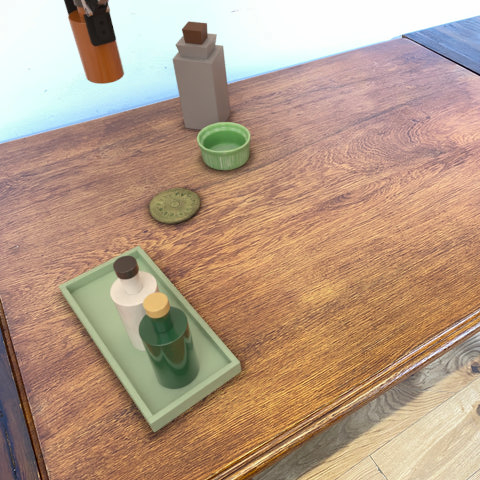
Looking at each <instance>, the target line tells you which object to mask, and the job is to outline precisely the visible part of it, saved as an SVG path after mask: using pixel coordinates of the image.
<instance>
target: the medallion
mask: <svg viewBox="0 0 480 480" xmlns="http://www.w3.org/2000/svg"><path fill="white" fill-rule="evenodd" d="M201 203H202V202H201V197H200V196H199V194H198V193H196V191H195V192H194V191H193V190H190V189H188V188H184V187H183V188H182V187H176V188H175V187H173V188H170V189H167V190H163V191H160V192H158V193H157V194H156V195H154V197H153V198H152V199H151V200H150V201H149V204H148V211H149V213H150V215H151V217H152V218H153V219H154V220H155V221H157V222H159V223H162V224H165V225H175V224H179V223H182V222H185V221H187V220H189V219H190V218H192V217H193V216H195V214H196V213H197V212H198V211H199V209H200V207H201Z"/></svg>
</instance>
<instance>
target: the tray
mask: <svg viewBox="0 0 480 480" xmlns="http://www.w3.org/2000/svg"><path fill="white" fill-rule="evenodd" d="M122 256H132V257H134V258H135V259H136V261H137V263H138V266H139V271H144V272H147V273H149V274H151V275H153V276H154V278H155V279H156V281H157V285H158V288H159V291H160V293H163V294H165V295H166V296H167V298H168V301H169V304H170V306H172V307H176V308H178V309H180V310H182V311H183V312H184V313H185V315H186V317H187V320H188V323H189V327H190V331H191V335H192V339H193V342H194V346H195V350H196V354H197V357H198V361H199V372H198V375H197V376H196V378H195V379H194V380H193V381H192V382H191V383H190V384H189V385H187V386H185V387H183V388H179V389H169V388H166V387H163V386H162V385H161V384H160V383H159V382H158V381H157V378H156V376H155V373H154V371H153V368H152V366H151V363H150V361H149V358H148V356H147V353H146V351H140V350H137V349H136V348H134V347H133V346H132V345H131V343H130V341H129V338H128V336H127V334H126V331H125V329H124V327H123V324H122V322H121V319H120V317H119V315H118V312H117V310H116V308H115V305H114V303H113V301H112V298H111V295H110V290H111V287H112V285H113V283H114V282H115V281H116V280H117V279H118V277H117V276H116V273H115V271H114V268H113V264H114V262H115V261H116V260H117V259H118V258H120V257H122ZM58 289H59V290H60V293H61V295H62V296H63V298H64V299H65V301H66V302H67V305H69V306H70V308H71V309H72V311H73V312H74V315H76V317H77V318H78V321H80V323H81V325H82V327H83V328H84V329H85V330H86V332H87V334H88V335H89V337H90V339H91V340H92V341H93V343H94V345H96V347H97V349H98V350H99V352H100V353H101V355H102V356H103V358H104V359H105V361H106V362H107V364H108V365H109V367H110V368H111V370H112V371H113V373H114V374H115V376H116V377H117V379H118V380H119V382H120V383H121V385H122V386H123V388H124V389H125V391H126V392H127V394H128V396H129V397H130V398H131V399H132V402H134V404H135V406H136V407H137V409H138V411H139V412H140V413H141V415H142V416H143V418H144V420H145V421H146V423H147V424H148V425H149V427H150V428H151V430H152V432H154V433H157V432H158V431H159V430H160V429H162V428H164V427H165V426H166V425H168V424H169V423H171V422H172V421H174V420H175V419H176V418H178V417H179V416H181V415H182V414H183V413H186V411H188V410H189V409H190V408H192V407H193V406H194V405H196V404H198V403H199V402H200V401H202V400H203V399H204V398H206V397H207V396H209V395H210V394H212V393H214V392H215V391H216V390H218V389H219V388H220V387H222V386H223V385H225V384H226V383H227V382H228V381H229V382H230V380H231V379H233V378H235V377H236V376H237V375H239V374H240V373H242V364H241V362H240V360H239V359H238V357H236V356H235V355H234V353H233V352H232V351H231V350H230V348H229V347H227V345H226V344H225V343H224V342H223V340H222V339H221V338H220V337H219V336H218V334H216V333H215V331H214V330H213V329H212V328H211V326H210V325H209V324H208V323H207V322H206V321H205V320H204V319H203V317H202V316H201V315H200V314H199V313H198V311H197V310H196V309H195V308H194V307H193V306H192V305H191V304H190V302H189V301H188V300H187V299H186V298H185V296H184V295H183V294H182V293H181V292H180V290H178V288H177V287H176V286H175V285H174V284H173V283H172V282H171V281H170V279H169V278H168V277H167V276H166V275H165V273H164V272H163V271H162V270H161V269H160V268H159V266H158V265H157V264H156V263H155V262H154V261H153V259H152V258H151V257H150V256H149V255H148V253H146V251H145V250H144V249H143V248H142V247H141V245H137V246H134V247H133V248H130V249H129V250H127V251H125V252H122V253H121V254H119V255H116V256H115V257H113V258H110V259H109V260H107V261H104V262H103V263H101V264H98V265H96V266H95V267H93V268H90V269H88V270H86V271H85V272H82V273H81V274H79V275H77V276H75V277H73V278H71V279H69V280H67V281H65V282H62V283H60V284H59V285H58Z"/></svg>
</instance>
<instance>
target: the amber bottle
mask: <svg viewBox="0 0 480 480" xmlns="http://www.w3.org/2000/svg"><path fill="white" fill-rule="evenodd" d="M73 1H74V5H75V6H77V9H78V10H75V11H73V12H71V13H70V14H69V15H67V19H68V22H69V25H70V29H71V32H72V35H73V39H74V42H75V45H76V48H77V52H78V55H79V58H80V62H81V66H82V69H83V72H84V75H85V78H86V80H87V81H88V82H90V83H93V84H99V85H103V84H105V85H106V84H111V83H114V82H118V81H119V80H121V79H122V78H123V77H124V75H125V70H124V65H123V62H122V61H123V60H122V57H121V53H120V48H119V45H118V42H117V39H116V40H115V41H114V42H111V43H107V44H103V45H100V46H93V45H92V44H91V41H90V37H89V34H88V30H87V27H86V23H85V20H84V16H83V15H85V14H86V12H85V10H84V7H83V4H82V2H81V0H73ZM89 3H90V0H89Z"/></svg>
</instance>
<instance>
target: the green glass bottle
mask: <svg viewBox="0 0 480 480" xmlns="http://www.w3.org/2000/svg"><path fill="white" fill-rule="evenodd" d="M143 307H144V309H145V312H146V315H145V316H144V317H143V318H142V320H141V322H140V324H139V335H140V338H141V340H142V343H143V345H144V348H145V350H146V353H147V356H148V358H149V361H150V363H151V366H152V368H153V371H154V373H155V376H156V378H157V381H158V382H159V383H160V384H161V385H162V386H163V387H166V388H169V389H179V388H183V387H185V386H187V385H189V384H190V383H191V382H192V381H193V380H194V379H195V378H196V376H197V375H198V372H199V361H198V357H197V354H196V350H195V346H194V342H193V339H192V335H191V331H190V327H189V323H188V320H187V317H186V315H185V313H184V312H183V311H182V310H180V309H178V308H176V307H172V306H170V304H169V301H168V298H167V296H166V295H165V294H163V293H160V292H155V293H152V294H150V295H148V296H147V297H146V298H145V299H144V302H143Z"/></svg>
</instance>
